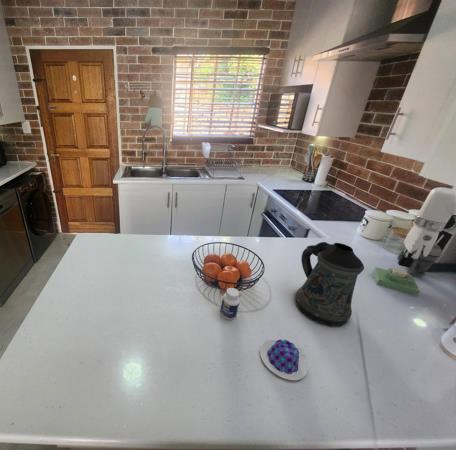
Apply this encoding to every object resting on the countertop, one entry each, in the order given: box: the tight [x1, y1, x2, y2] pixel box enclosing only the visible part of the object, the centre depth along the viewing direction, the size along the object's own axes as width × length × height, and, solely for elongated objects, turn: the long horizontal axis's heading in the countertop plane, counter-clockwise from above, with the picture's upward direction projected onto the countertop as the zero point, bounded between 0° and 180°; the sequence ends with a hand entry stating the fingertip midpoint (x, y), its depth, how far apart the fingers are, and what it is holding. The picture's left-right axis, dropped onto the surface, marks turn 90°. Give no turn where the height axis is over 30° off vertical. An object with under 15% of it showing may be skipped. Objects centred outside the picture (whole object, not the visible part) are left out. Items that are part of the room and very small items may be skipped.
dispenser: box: [371, 266, 421, 297], centre depth 98 cm, size 12×10×6 cm
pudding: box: [259, 339, 308, 381], centre depth 68 cm, size 12×12×5 cm
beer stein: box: [294, 241, 365, 327], centre depth 82 cm, size 16×19×25 cm
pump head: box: [392, 267, 408, 278], centre depth 97 cm, size 4×4×2 cm
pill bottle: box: [219, 287, 241, 321], centre depth 81 cm, size 5×5×10 cm
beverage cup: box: [406, 234, 445, 279], centre depth 103 cm, size 7×7×20 cm
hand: (403, 265), depth 95 cm, fingers closed
